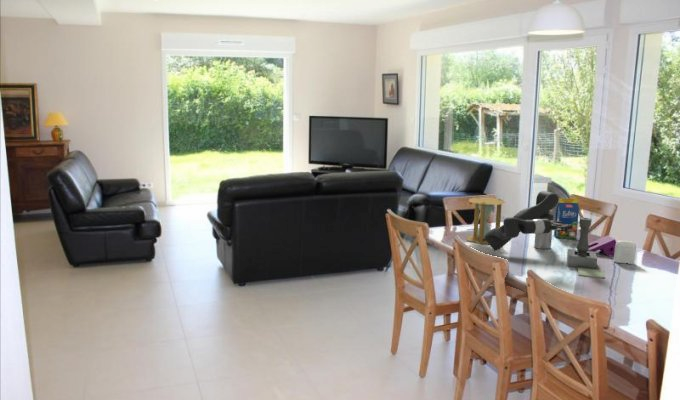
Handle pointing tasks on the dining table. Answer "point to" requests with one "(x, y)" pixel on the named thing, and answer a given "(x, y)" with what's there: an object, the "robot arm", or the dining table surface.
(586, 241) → the candle holder
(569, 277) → the dining table surface
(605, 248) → the mounting bracket
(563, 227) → the robot arm
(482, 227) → the hourglass
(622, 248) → the photo printer
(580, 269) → the mat
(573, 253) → the socket block
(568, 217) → the blue food package
